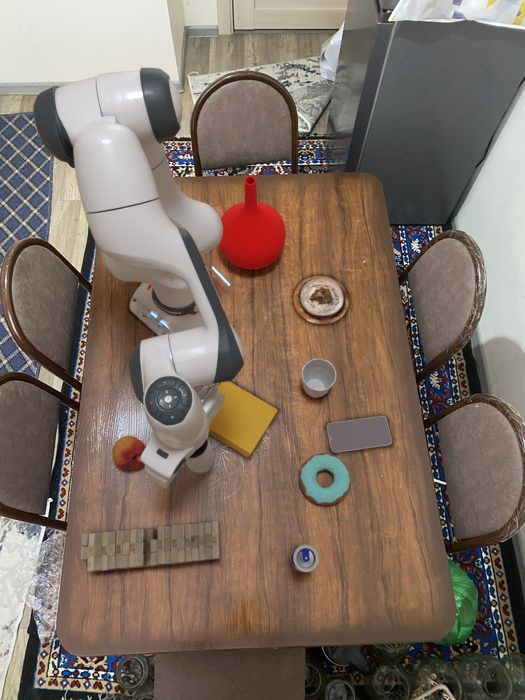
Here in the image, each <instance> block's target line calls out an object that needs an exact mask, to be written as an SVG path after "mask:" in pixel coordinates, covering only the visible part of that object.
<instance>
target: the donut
mask: <svg viewBox="0 0 525 700" xmlns="http://www.w3.org/2000/svg"><path fill="white" fill-rule="evenodd" d="M322 471H327V472H329V473H330V474H331V475H332V479H333V480H332V483H331V484H330V485H329V486H326V487H324V486H321V485H320V484H319V482H318V481H317V480H318V479H317V477H318V474H319V473H320V472H322ZM298 475H299V476H298V477H299V478H298V479H299V486H300V488H301V491H302V492H303V494H304V496H306V498H307V499H309V500H310V501H311V502H313V503H314V504H317V505H320V506H332V505H333V506H334V505H335V504H338V503H339V502H341V501H342V500H343V499H344V498H345V497H347V495H348V493H349V490H350V487H351V481H352V480H351V474H350V471H349V469H348V466H347V465H346V463H345V462H344V461H343V460H342V459H341V458H340V457H338V456H336V455H334V454H331V453H327V452H322V453H316V454H313V455H311V456H310V457H308V458H307V459H306V460H305V461H304V463H303V464H302V466H301V468H300V469H299V474H298Z"/></svg>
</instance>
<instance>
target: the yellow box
mask: <svg viewBox="0 0 525 700" xmlns="http://www.w3.org/2000/svg"><path fill="white" fill-rule="evenodd" d="M218 391H219V392H221V393H222V394H223V395H224V397H225V401H224V404H223V405H222V407H221V408H220V410H219V411H218V413H217V414H216V416H215V417H214V419H213V420H212V422H211V423H210V425H209V434H208V435H209V436H211V437H213V438H214V439H216V440H218V441H219V442H221V443H222V444H224V445H226V446H227V447H229V448H231V449H232V450H234V451H236V452H237V453H239V454H241V456H243V457H245V458H246V459H249V458H250V456H251V455H252V453H253V452H254V450H255V449H256V447H257V445H258V444H259V442H260V440H261V439H262V438H263V435H264V434H265V432H266V431H267V429H268V428H269V426H270V425H271V423H272V421H273V419H274V418H275V416H276V415H277V413H278V411H279V410H278V409H277V408H276V407H274V406H272V405H270V404H269V403H267V402H265V401H264V400H262V399H260V398H258V397H257V396H255V395H253V394H251V393H250V392H248V391H246V390H245V389H244V388H241V387H240V386H238V385H236V384H235V383H233V382H232V381H228V382H221V383H219V388H218Z"/></svg>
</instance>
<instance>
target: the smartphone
mask: <svg viewBox="0 0 525 700" xmlns="http://www.w3.org/2000/svg"><path fill="white" fill-rule="evenodd" d="M326 432H327V438H328V442H329V447H330V451H331V452H332V453H333V454H339V453H346V452H353V451H359V450H367V449H374V448H381V447H388V446H390V445H391V444H392V442H393V439H392V435H391V431H390V428H389V423H388V420H387V417H386V416H384V415H378V416H371V417H370V416H369V417H363V418H362V417H361V418H356V419H349V420H342V421H335V422H329V423H328V424H327V425H326Z"/></svg>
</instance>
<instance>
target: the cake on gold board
mask: <svg viewBox="0 0 525 700" xmlns="http://www.w3.org/2000/svg"><path fill="white" fill-rule="evenodd" d="M293 306H294V308H295V310H296V312H297V313H298V314H299V315H300V316H301V317H302V318H303V319H304V320H305V321H308V322H310V323H311V324H316V325H329V324H332V323H335V322H337V321H338V320H340V319H341V318H342V317H343V316H344V315H345V314H346V312H347V310H348V307H349V295H348V293H347V290H346V289H345V287H344V286H343V284H341V283H340V282H339V281H337V280H336V279H334V278H332V277H330V276H326V275H313V276H310V277H307V278H305V279H304V280H302V281H301V282H300V283H299V284H298V285H297V286H296V287H295V290H294V292H293Z"/></svg>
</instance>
